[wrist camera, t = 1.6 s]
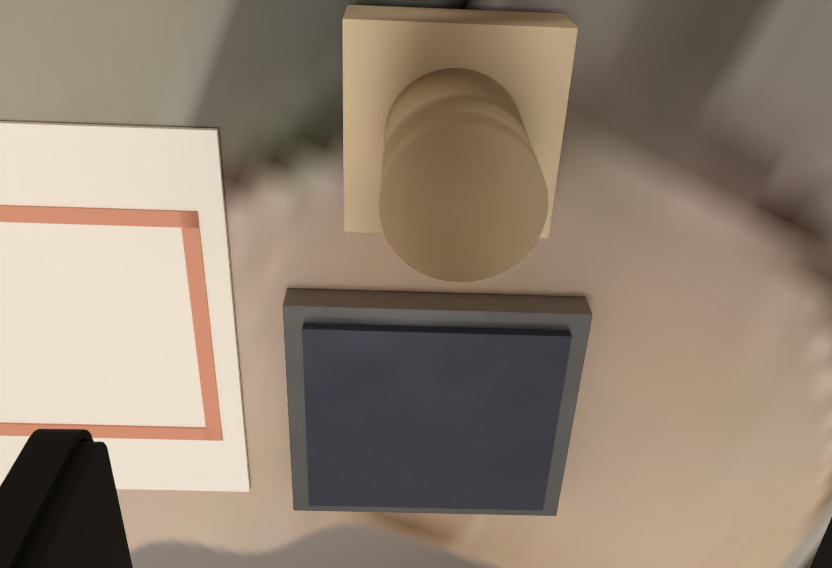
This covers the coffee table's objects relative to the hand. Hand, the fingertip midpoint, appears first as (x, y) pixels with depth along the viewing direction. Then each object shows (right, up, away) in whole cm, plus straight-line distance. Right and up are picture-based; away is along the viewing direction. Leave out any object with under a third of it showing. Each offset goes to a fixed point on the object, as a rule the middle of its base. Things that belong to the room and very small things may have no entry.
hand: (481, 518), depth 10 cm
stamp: (0, +9, +15) cm, 18 cm away
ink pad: (0, -2, +21) cm, 21 cm away
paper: (-14, +1, +19) cm, 24 cm away
